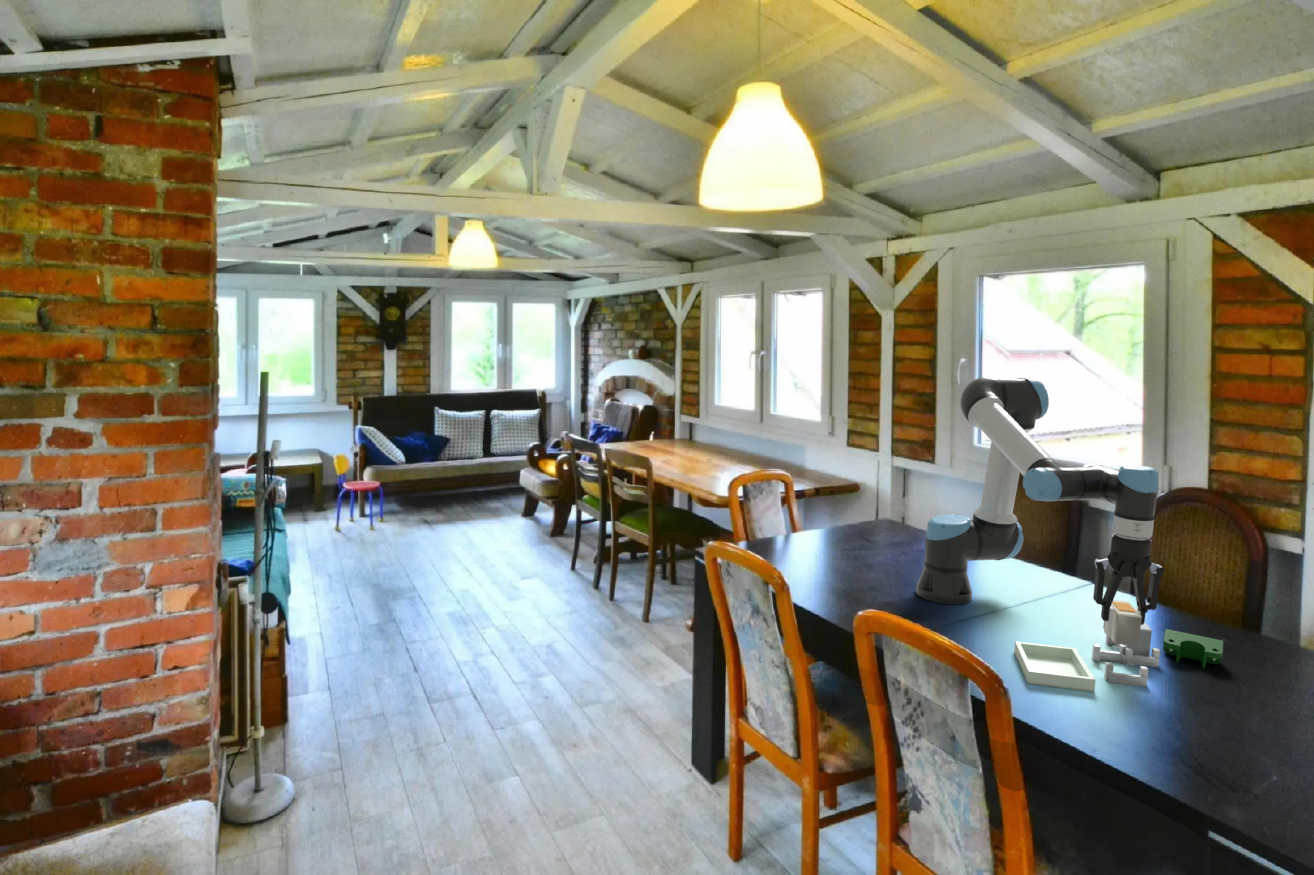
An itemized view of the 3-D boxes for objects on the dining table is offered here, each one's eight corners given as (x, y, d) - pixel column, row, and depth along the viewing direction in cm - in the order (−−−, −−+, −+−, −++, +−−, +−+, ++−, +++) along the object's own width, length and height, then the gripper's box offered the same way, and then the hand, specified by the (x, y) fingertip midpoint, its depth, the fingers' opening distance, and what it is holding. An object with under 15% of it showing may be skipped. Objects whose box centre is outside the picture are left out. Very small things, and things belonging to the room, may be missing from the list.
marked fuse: (1114, 643, 166) (1118, 612, 165) (1103, 627, 174) (1106, 598, 173) (1138, 646, 165) (1142, 615, 164) (1125, 630, 173) (1129, 600, 172)
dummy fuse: (1126, 660, 176) (1129, 627, 175) (1114, 645, 185) (1117, 614, 184) (1148, 662, 175) (1151, 629, 174) (1135, 647, 184) (1139, 616, 183)
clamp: (1170, 676, 178) (1154, 643, 177) (1172, 662, 182) (1157, 629, 182) (1230, 673, 170) (1214, 637, 169) (1231, 658, 174) (1216, 624, 174)
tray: (1027, 683, 164) (1028, 671, 163) (1014, 652, 180) (1015, 641, 179) (1094, 692, 160) (1095, 679, 160) (1074, 659, 176) (1075, 648, 176)
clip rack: (1107, 682, 165) (1108, 666, 164) (1077, 637, 189) (1079, 623, 189) (1180, 691, 161) (1181, 675, 160) (1140, 644, 185) (1141, 630, 185)
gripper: (1092, 536, 165) (1081, 637, 168) (1184, 544, 160) (1171, 647, 163) (1083, 527, 172) (1073, 624, 175) (1171, 534, 167) (1159, 634, 171)
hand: (1120, 635), depth 169 cm, fingers closed on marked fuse, 4 cm apart
